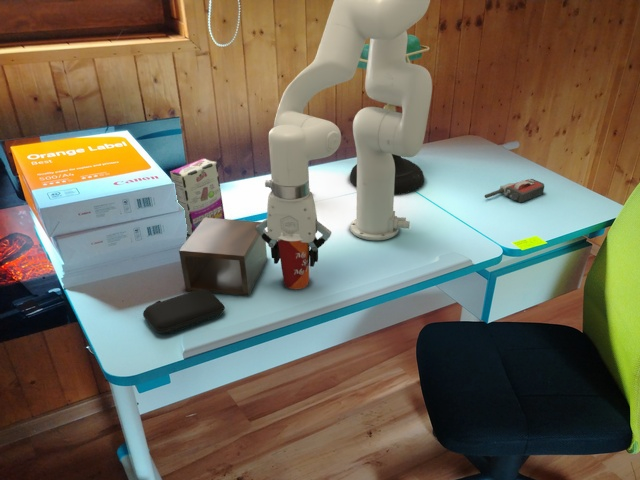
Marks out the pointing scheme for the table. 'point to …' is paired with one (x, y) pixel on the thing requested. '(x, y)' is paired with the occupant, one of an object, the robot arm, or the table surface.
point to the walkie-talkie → (520, 190)
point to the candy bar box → (198, 192)
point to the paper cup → (294, 260)
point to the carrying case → (183, 311)
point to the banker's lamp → (405, 170)
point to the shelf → (223, 256)
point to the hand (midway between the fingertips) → (295, 261)
